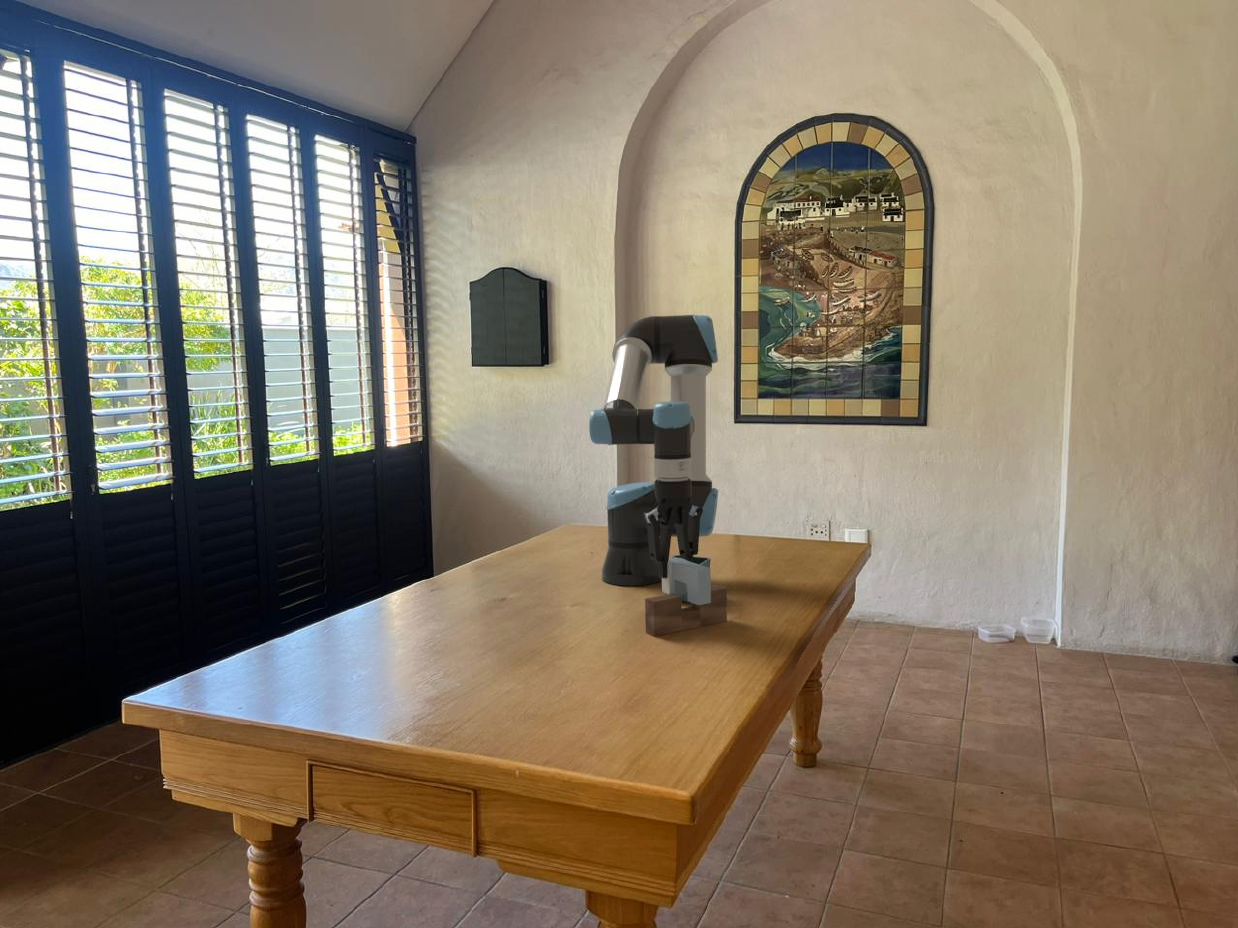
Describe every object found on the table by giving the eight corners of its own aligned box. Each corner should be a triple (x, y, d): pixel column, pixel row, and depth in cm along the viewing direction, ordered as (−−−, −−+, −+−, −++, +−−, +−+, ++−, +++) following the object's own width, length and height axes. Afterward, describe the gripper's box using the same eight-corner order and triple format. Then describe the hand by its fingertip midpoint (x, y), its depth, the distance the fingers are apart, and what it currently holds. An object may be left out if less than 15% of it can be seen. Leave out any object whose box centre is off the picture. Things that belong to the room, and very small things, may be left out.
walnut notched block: (645, 632, 187) (644, 598, 186) (718, 617, 196) (717, 584, 195) (653, 636, 184) (653, 601, 183) (726, 620, 193) (726, 587, 192)
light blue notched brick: (664, 592, 194) (663, 559, 193) (676, 590, 195) (675, 557, 194) (698, 605, 183) (697, 570, 182) (710, 602, 185) (710, 568, 184)
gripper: (649, 484, 183) (651, 601, 186) (716, 476, 191) (717, 589, 194) (629, 480, 189) (631, 593, 192) (694, 472, 197) (695, 581, 200)
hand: (674, 591), depth 193 cm, fingers closed on light blue notched brick, 3 cm apart
